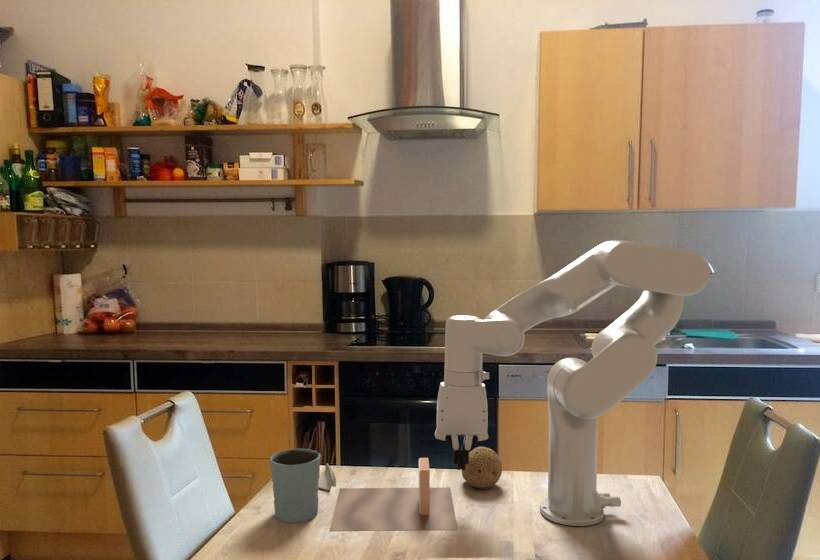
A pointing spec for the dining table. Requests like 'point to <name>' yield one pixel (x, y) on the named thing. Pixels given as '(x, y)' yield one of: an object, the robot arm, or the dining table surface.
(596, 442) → the robot arm
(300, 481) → the grey green cup
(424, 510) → the tile
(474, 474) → the natural sponge
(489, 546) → the dining table surface
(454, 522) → the board
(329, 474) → the ceramic fragment
